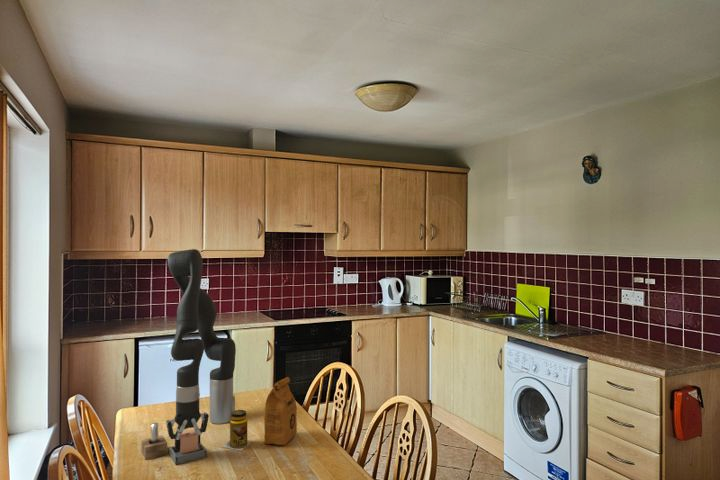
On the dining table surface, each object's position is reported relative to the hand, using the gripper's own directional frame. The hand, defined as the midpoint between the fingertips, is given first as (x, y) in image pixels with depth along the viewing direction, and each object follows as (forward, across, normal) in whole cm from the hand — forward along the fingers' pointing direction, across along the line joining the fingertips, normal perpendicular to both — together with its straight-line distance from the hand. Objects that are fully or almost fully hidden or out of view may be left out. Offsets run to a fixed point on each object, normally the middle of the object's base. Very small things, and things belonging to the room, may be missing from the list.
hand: (187, 447), depth 165 cm
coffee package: (+3, -32, +6) cm, 33 cm away
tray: (+3, 0, 0) cm, 3 cm away
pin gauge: (+3, +9, -8) cm, 13 cm away
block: (+1, 0, 0) cm, 1 cm away
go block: (+3, +9, -8) cm, 13 cm away
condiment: (+3, -17, 0) cm, 17 cm away
